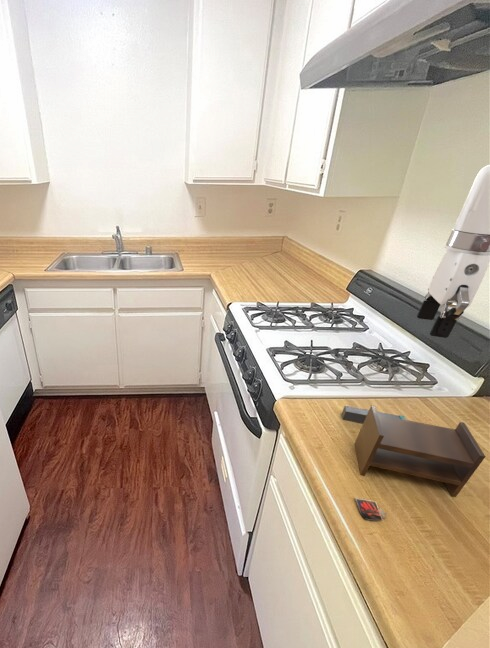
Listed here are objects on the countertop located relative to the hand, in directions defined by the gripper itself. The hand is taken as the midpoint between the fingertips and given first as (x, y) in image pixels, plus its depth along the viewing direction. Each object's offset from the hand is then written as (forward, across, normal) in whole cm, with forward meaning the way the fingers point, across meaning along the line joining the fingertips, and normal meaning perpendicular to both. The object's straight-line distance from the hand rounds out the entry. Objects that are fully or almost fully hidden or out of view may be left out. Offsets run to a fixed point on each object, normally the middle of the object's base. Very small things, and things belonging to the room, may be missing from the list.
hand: (430, 327), depth 74 cm
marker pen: (+25, -3, +5) cm, 25 cm away
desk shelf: (+25, -18, +1) cm, 31 cm away
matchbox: (+25, -32, +9) cm, 42 cm away
